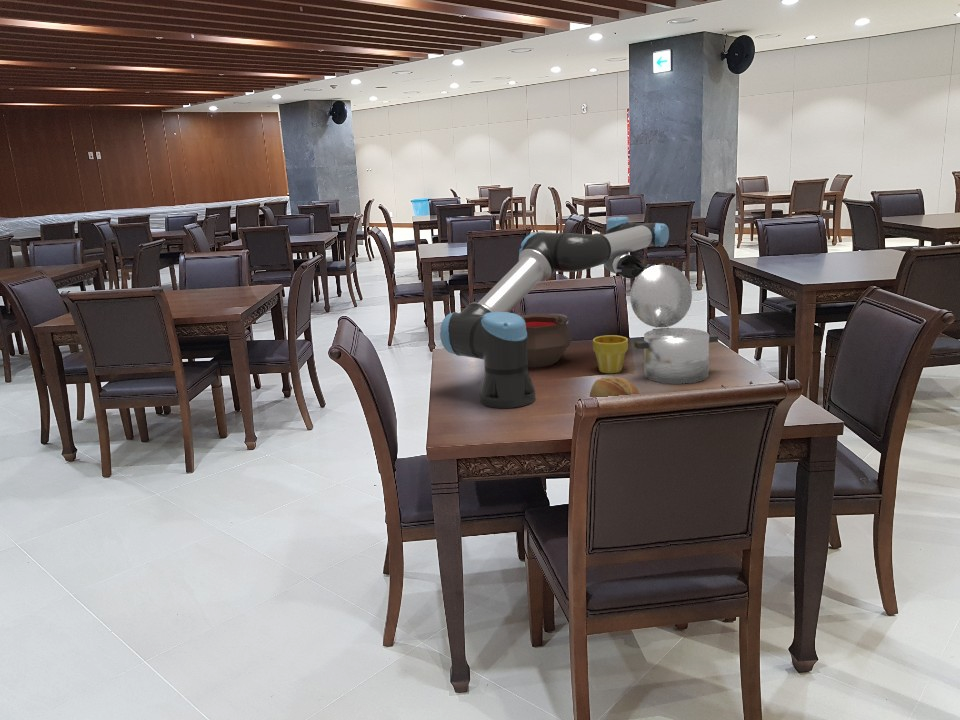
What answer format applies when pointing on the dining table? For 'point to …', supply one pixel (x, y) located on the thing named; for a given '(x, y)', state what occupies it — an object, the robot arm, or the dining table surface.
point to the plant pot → (610, 352)
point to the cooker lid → (661, 296)
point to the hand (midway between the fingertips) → (653, 275)
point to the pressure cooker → (676, 354)
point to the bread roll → (612, 387)
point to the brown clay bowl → (545, 338)
